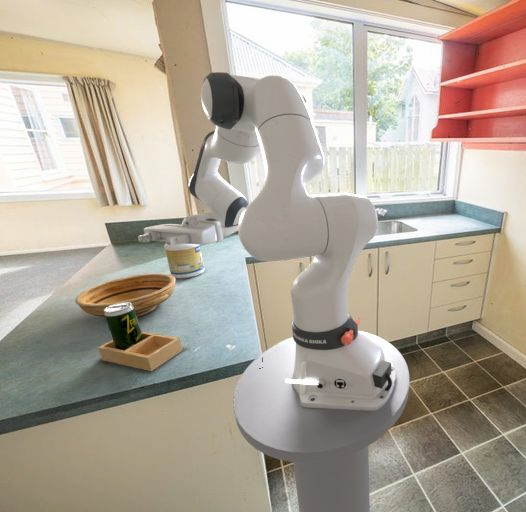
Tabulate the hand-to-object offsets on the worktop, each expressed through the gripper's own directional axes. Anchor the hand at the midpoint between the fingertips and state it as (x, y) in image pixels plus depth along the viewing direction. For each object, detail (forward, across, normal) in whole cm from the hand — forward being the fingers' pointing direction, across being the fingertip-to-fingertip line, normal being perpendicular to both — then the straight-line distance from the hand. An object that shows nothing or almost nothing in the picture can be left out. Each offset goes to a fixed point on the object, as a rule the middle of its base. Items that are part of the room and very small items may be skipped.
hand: (154, 240), depth 77 cm
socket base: (+12, +4, +26) cm, 29 cm away
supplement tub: (-35, -33, +26) cm, 55 cm away
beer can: (+12, 0, +25) cm, 28 cm away
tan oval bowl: (-5, -22, +26) cm, 34 cm away
